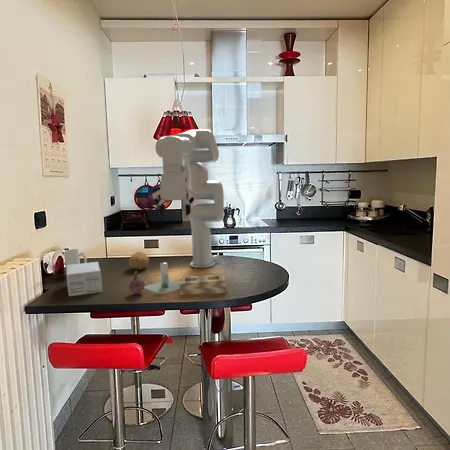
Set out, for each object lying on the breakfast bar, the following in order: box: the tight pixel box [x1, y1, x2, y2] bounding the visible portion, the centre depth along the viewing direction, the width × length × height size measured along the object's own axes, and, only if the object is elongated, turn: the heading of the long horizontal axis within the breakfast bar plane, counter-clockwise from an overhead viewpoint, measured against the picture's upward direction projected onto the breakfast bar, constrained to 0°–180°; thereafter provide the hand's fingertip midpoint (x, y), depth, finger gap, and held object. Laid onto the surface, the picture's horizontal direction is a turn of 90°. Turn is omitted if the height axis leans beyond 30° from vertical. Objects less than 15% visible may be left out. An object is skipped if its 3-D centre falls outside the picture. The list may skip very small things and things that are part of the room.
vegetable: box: [128, 270, 146, 295], centre depth 149 cm, size 6×6×10 cm
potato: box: [128, 251, 150, 271], centre depth 190 cm, size 10×14×8 cm
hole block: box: [179, 273, 227, 296], centre depth 152 cm, size 18×9×5 cm, turn 97°
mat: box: [144, 279, 180, 295], centre depth 158 cm, size 14×14×1 cm
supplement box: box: [66, 261, 103, 297], centre depth 161 cm, size 17×13×9 cm
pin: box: [159, 262, 170, 288], centre depth 158 cm, size 3×3×10 cm
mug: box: [63, 248, 88, 275], centre depth 183 cm, size 10×7×12 cm, turn 98°
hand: (175, 215), depth 146 cm, fingers open, 9 cm apart
